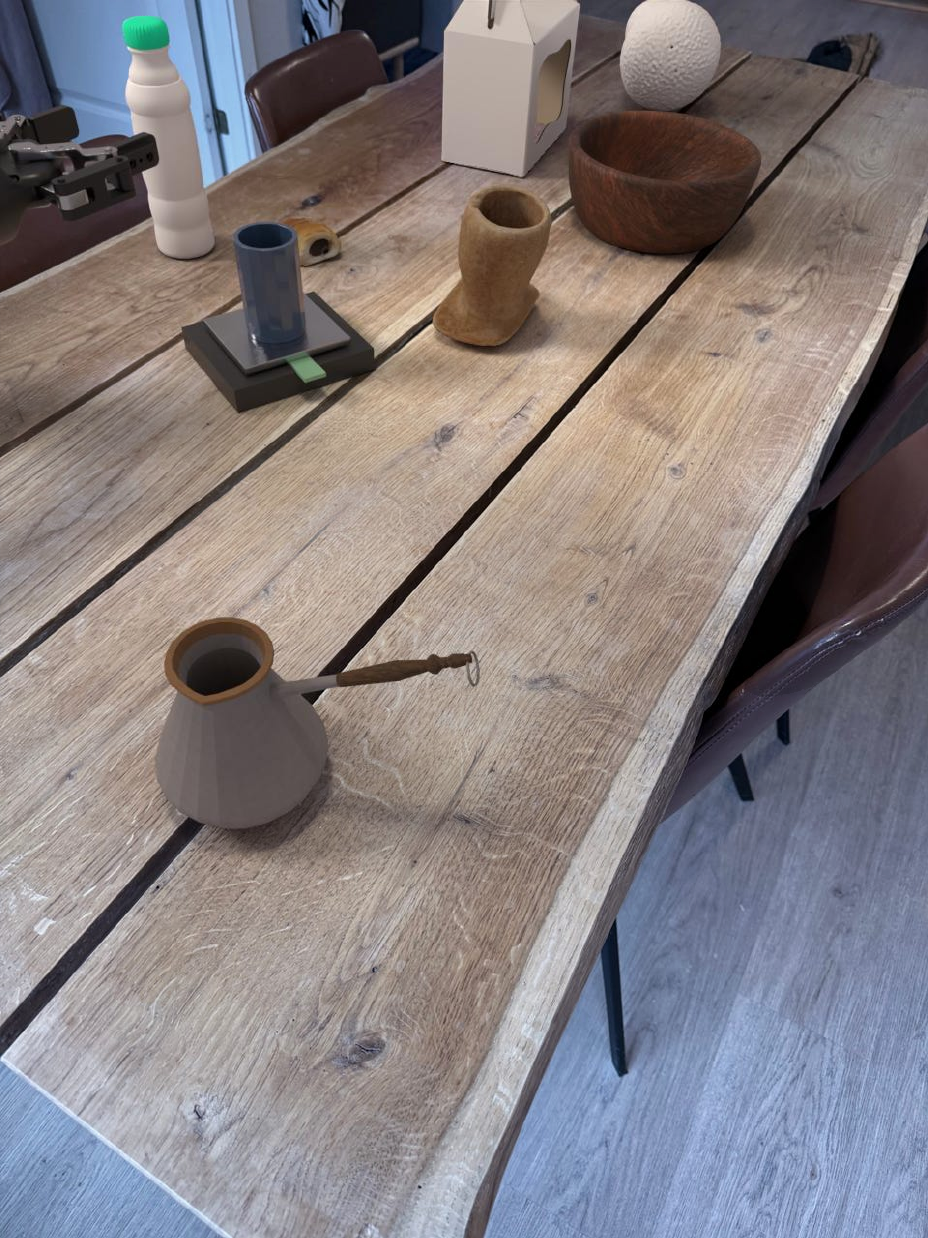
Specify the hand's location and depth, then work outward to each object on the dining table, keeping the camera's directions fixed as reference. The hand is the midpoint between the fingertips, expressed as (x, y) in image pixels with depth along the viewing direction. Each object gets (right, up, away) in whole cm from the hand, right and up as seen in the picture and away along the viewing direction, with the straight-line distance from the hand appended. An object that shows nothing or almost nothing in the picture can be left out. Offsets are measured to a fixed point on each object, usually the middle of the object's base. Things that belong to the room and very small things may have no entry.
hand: (112, 132), depth 68 cm
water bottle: (-9, +11, +47) cm, 49 cm away
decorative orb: (+59, +52, +88) cm, 118 cm away
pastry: (+6, +10, +48) cm, 49 cm away
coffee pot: (+16, -48, -5) cm, 51 cm away
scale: (+6, -8, +31) cm, 32 cm away
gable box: (+33, +38, +74) cm, 89 cm away
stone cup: (+30, -2, +38) cm, 48 cm away
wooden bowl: (+52, +18, +57) cm, 80 cm away
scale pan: (+6, -6, +29) cm, 30 cm away
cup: (+7, -6, +28) cm, 29 cm away
